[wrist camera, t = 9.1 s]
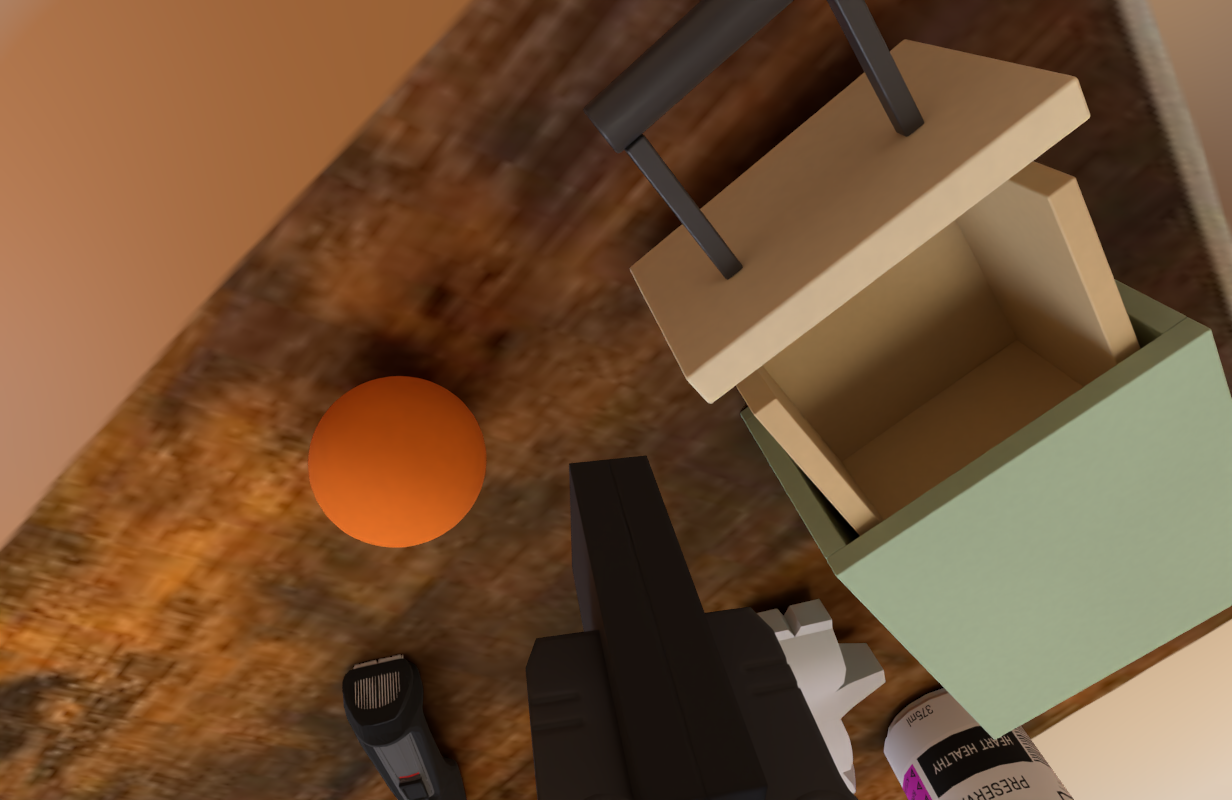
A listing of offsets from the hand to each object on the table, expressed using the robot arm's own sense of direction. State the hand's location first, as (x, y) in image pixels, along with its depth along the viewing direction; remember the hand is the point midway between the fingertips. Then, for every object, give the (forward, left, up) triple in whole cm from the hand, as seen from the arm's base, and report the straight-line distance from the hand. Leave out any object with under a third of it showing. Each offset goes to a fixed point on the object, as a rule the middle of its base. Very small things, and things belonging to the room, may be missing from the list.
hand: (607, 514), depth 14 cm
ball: (+8, +1, -11) cm, 13 cm away
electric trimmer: (+23, +16, -14) cm, 31 cm away
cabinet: (-8, +18, -14) cm, 24 cm away
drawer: (-8, +6, -13) cm, 16 cm away
